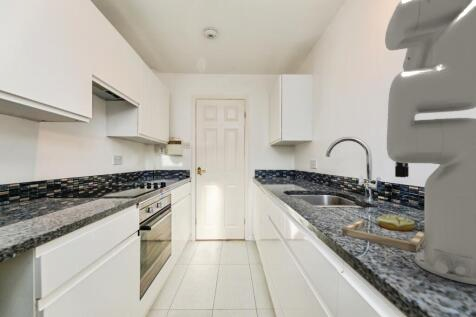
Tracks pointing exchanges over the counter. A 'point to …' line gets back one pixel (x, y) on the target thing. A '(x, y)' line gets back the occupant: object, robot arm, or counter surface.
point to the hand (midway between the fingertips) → (401, 176)
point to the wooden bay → (401, 244)
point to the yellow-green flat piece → (396, 222)
